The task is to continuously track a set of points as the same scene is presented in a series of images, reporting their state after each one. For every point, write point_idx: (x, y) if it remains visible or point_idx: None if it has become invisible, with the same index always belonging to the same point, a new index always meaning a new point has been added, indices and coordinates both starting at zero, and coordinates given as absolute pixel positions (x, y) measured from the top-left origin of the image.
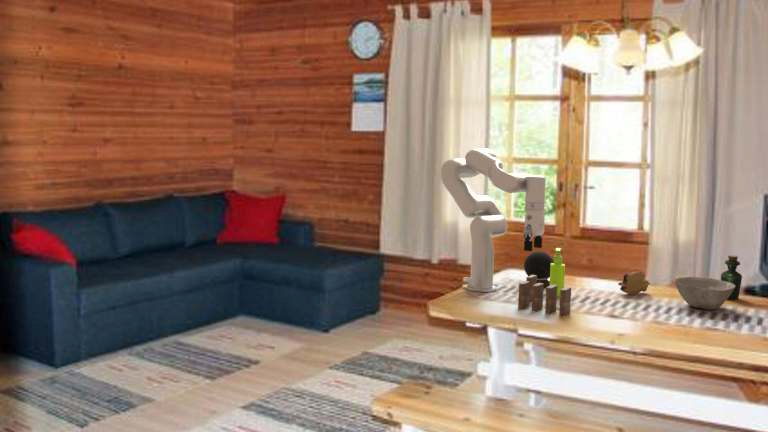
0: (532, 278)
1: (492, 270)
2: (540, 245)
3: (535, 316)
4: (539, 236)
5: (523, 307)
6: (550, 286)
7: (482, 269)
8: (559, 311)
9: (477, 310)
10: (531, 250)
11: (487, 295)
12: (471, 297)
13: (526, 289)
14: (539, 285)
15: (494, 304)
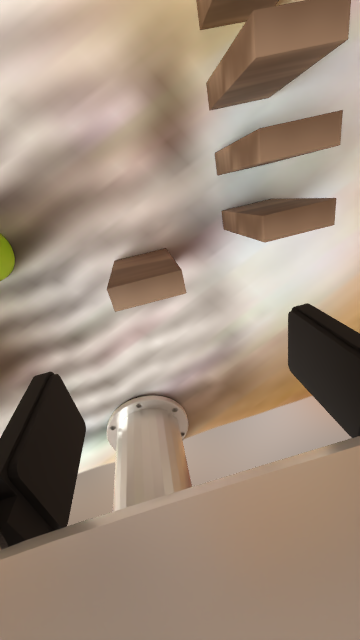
0: (164, 272)
1: (141, 456)
2: (51, 392)
3: (329, 100)
4: (5, 533)
5: (271, 199)
6: (309, 33)
7: (181, 465)
8: (276, 3)
9: (354, 283)
10: (308, 305)
11: (193, 375)
12: (242, 380)
13: (286, 205)
14: (316, 116)
15: (269, 299)
